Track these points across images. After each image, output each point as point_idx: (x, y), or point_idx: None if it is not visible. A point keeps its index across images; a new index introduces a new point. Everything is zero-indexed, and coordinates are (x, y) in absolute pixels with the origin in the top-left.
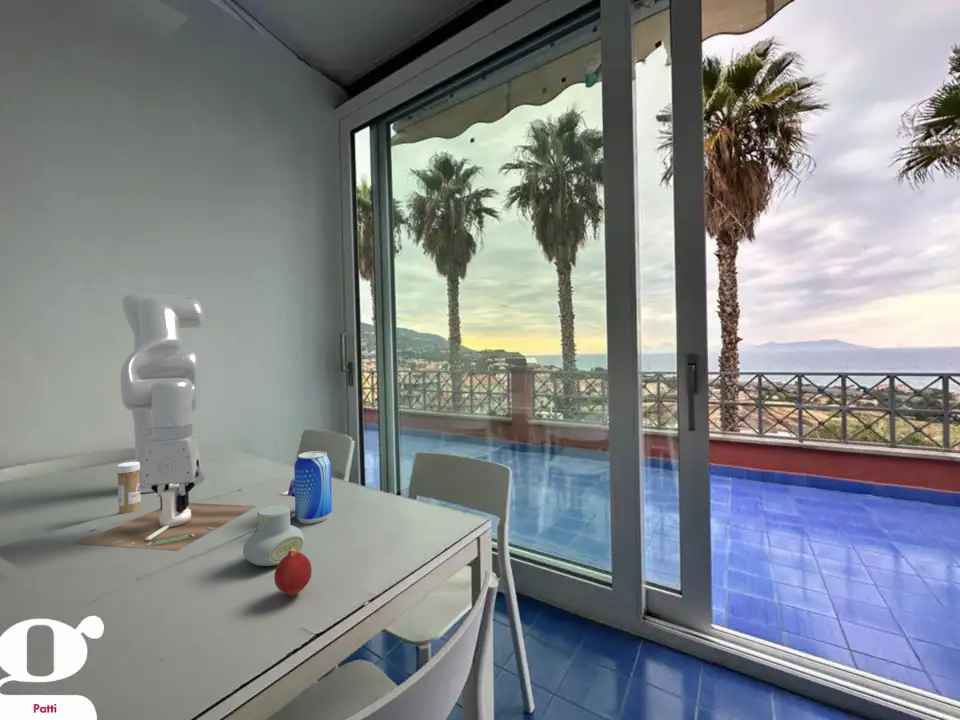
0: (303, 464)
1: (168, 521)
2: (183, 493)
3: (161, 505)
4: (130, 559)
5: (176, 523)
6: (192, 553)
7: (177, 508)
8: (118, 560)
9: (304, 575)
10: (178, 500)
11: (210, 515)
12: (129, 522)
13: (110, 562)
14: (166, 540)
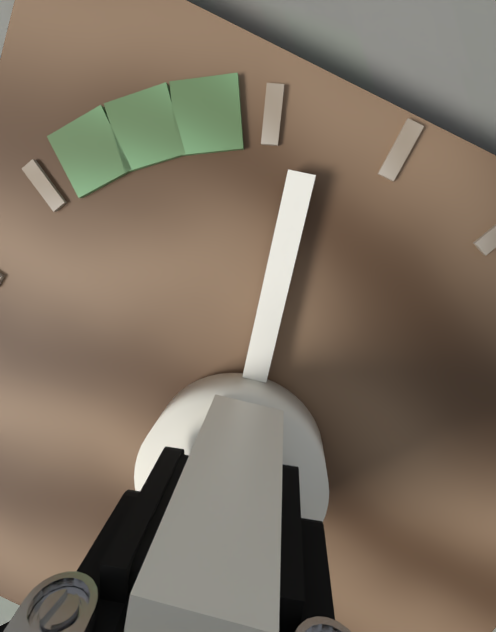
0: None
1: (243, 389)
2: (52, 595)
3: (318, 543)
4: (345, 33)
5: (202, 385)
6: (6, 10)
7: (179, 473)
8: (415, 41)
9: None
10: (139, 525)
11: (78, 492)
12: None
13: (456, 22)
14: (172, 131)
